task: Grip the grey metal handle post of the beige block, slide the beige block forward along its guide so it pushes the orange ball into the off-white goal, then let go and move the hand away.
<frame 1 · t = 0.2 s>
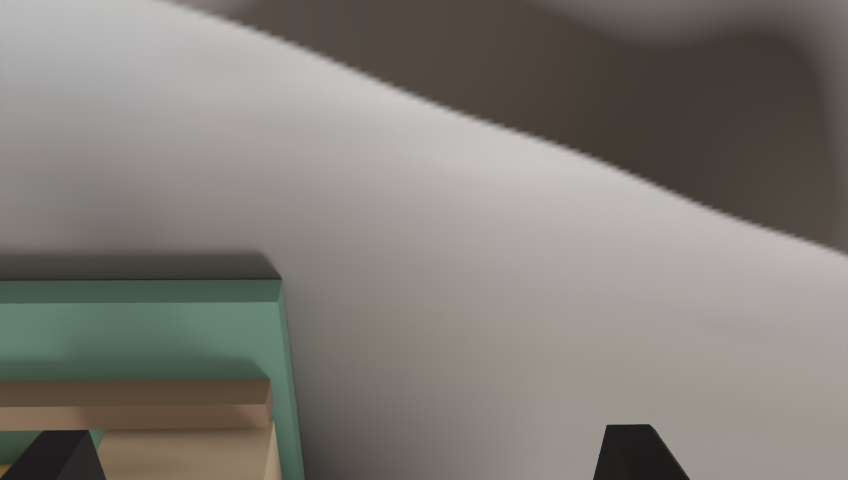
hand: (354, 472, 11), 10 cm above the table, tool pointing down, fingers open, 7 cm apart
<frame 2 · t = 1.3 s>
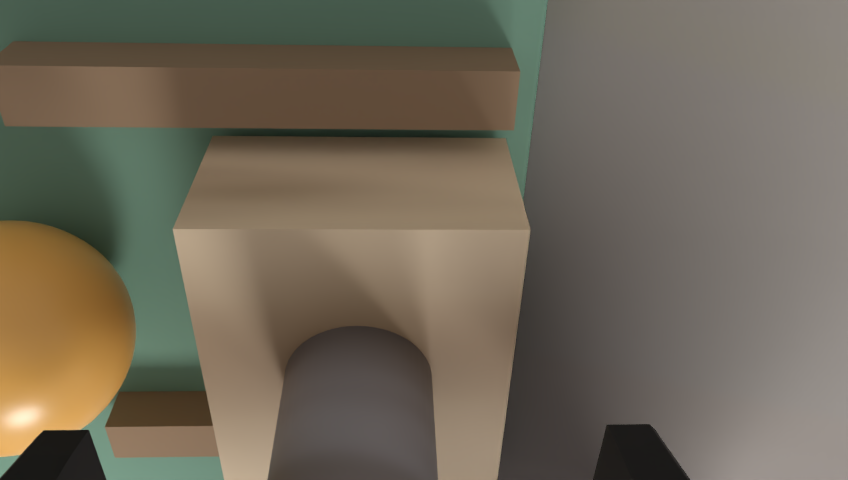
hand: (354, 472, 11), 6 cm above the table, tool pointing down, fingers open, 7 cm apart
beige block: (356, 434, 11), point 5 cm above the table, slide at 0.0 cm
ball: (11, 336, 13), point 3 cm above the table, touching pitch
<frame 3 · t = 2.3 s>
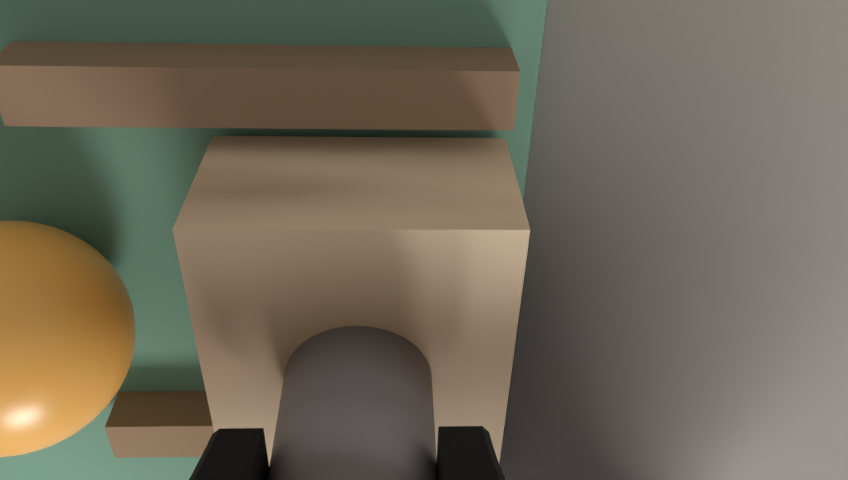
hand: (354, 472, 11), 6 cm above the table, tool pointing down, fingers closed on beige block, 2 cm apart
beige block: (355, 434, 11), point 5 cm above the table, slide at 0.0 cm, touching gripper
ball: (11, 336, 13), point 3 cm above the table, touching pitch
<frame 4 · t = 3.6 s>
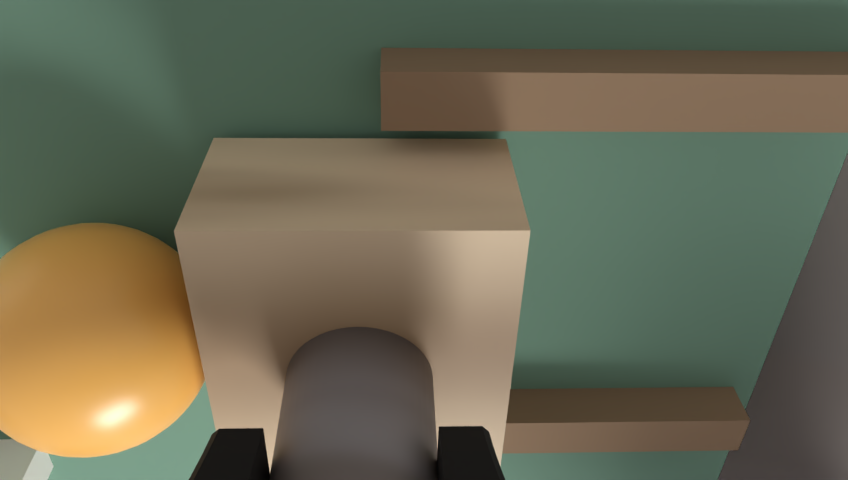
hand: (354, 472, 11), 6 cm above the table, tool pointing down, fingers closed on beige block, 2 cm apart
pitch: (239, 238, 15), on the table
beige block: (357, 434, 11), point 5 cm above the table, slide at 5.9 cm, touching gripper
ball: (95, 337, 13), point 3 cm above the table, tilted 127°, touching pitch
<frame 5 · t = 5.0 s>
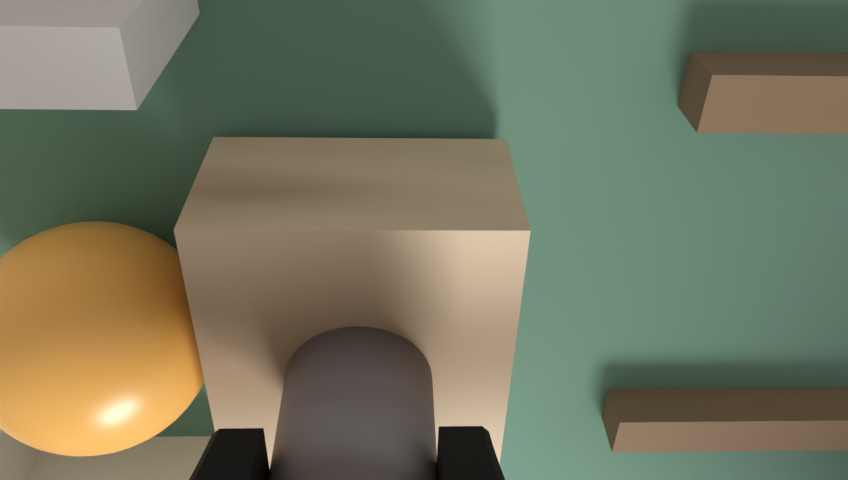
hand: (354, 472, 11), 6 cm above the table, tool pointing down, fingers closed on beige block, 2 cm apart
pitch: (485, 237, 16), on the table
goal: (98, 237, 15), resting on pitch
beige block: (356, 434, 11), point 5 cm above the table, slide at 11.0 cm, touching gripper
ball: (96, 336, 13), point 3 cm above the table, tilted 86°, touching pitch
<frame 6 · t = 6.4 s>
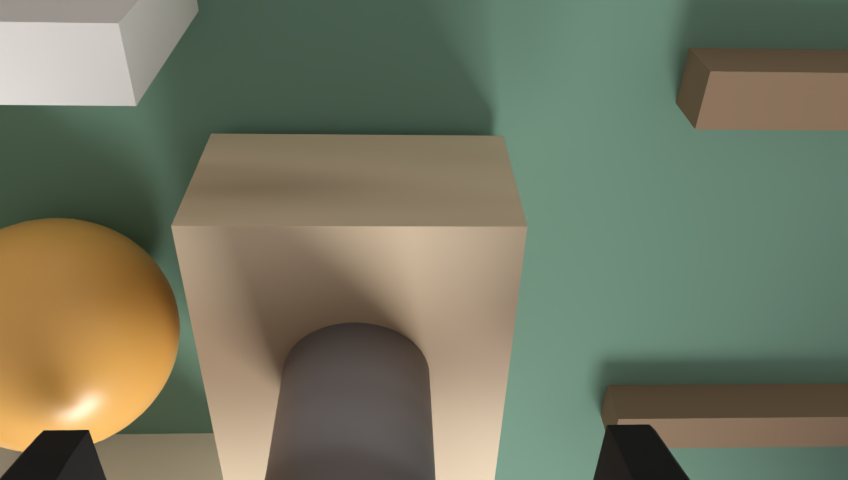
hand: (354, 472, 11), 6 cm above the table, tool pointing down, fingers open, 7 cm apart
pitch: (484, 234, 16), on the table
goal: (97, 234, 15), resting on pitch
beige block: (353, 430, 11), point 5 cm above the table, slide at 11.0 cm
ball: (58, 333, 13), point 3 cm above the table, tilted 68°, touching pitch
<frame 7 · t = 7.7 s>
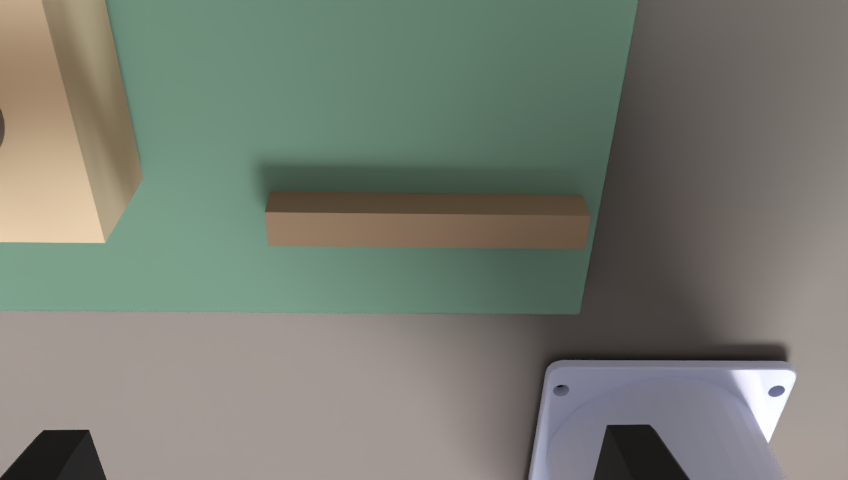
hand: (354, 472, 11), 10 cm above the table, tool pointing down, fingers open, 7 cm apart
pitch: (136, 41, 18), on the table
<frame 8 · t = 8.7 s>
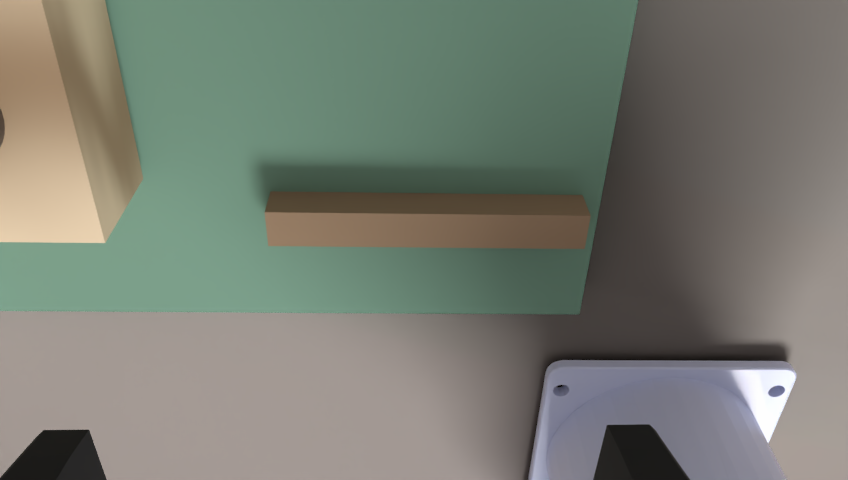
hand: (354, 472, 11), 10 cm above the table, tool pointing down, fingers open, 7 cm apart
pitch: (136, 41, 18), on the table
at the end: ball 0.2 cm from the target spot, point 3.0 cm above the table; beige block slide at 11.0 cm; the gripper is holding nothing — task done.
